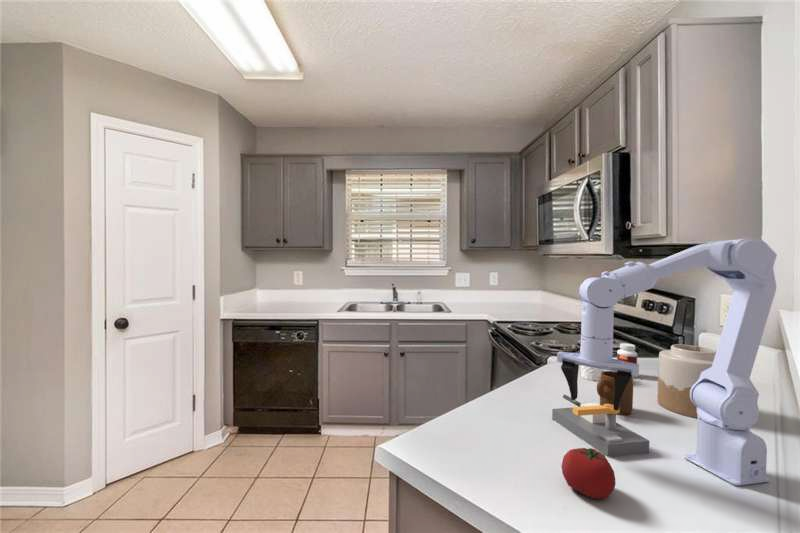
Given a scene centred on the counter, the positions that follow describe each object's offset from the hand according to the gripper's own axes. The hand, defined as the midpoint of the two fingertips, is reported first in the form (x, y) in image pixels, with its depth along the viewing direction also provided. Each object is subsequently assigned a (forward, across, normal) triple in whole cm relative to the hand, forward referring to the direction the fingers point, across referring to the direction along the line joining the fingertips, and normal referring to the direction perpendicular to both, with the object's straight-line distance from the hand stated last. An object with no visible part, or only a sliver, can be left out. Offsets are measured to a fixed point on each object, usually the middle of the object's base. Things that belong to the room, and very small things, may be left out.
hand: (594, 403), depth 73 cm
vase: (+11, -15, -46) cm, 49 cm away
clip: (+4, +1, -7) cm, 8 cm away
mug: (+11, +1, -28) cm, 30 cm away
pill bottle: (+11, +3, -70) cm, 70 cm away
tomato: (+11, -2, +14) cm, 18 cm away
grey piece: (+10, +1, -11) cm, 15 cm away
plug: (+8, +6, -15) cm, 18 cm away
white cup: (+11, +11, -57) cm, 59 cm away
